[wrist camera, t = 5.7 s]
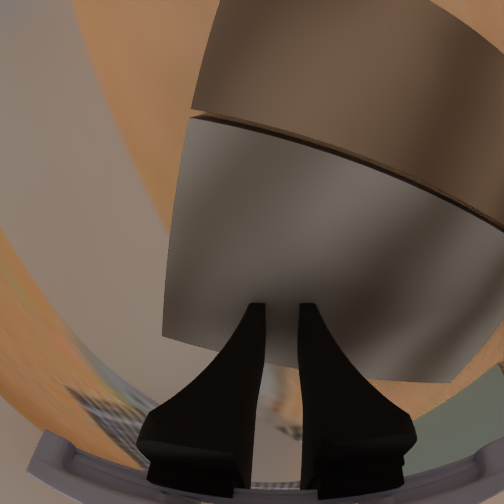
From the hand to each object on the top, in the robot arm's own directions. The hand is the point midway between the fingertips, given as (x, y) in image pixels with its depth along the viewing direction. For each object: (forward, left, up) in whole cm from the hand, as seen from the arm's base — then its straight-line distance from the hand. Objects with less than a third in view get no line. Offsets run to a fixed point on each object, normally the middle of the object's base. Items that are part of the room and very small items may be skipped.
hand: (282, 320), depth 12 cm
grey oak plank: (-4, -7, 0) cm, 8 cm away
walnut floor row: (-4, -11, -1) cm, 11 cm away
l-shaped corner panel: (-23, +10, -2) cm, 25 cm away
